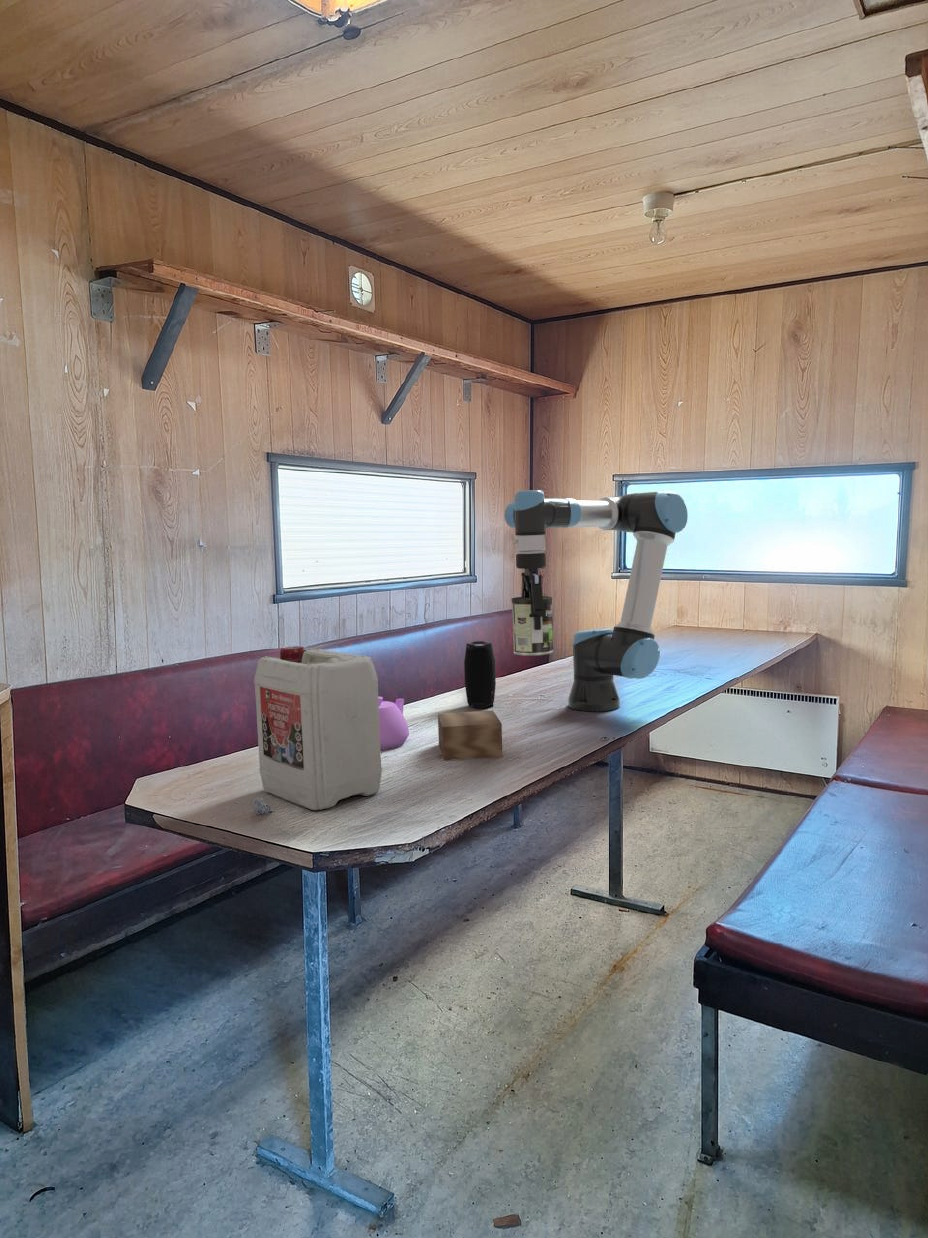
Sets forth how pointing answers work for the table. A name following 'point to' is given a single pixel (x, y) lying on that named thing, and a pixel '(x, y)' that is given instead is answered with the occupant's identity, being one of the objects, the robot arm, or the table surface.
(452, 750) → the walnut block
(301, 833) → the table surface
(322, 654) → the jerry can
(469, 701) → the portable speaker
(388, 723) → the teapot
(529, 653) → the coffee can
